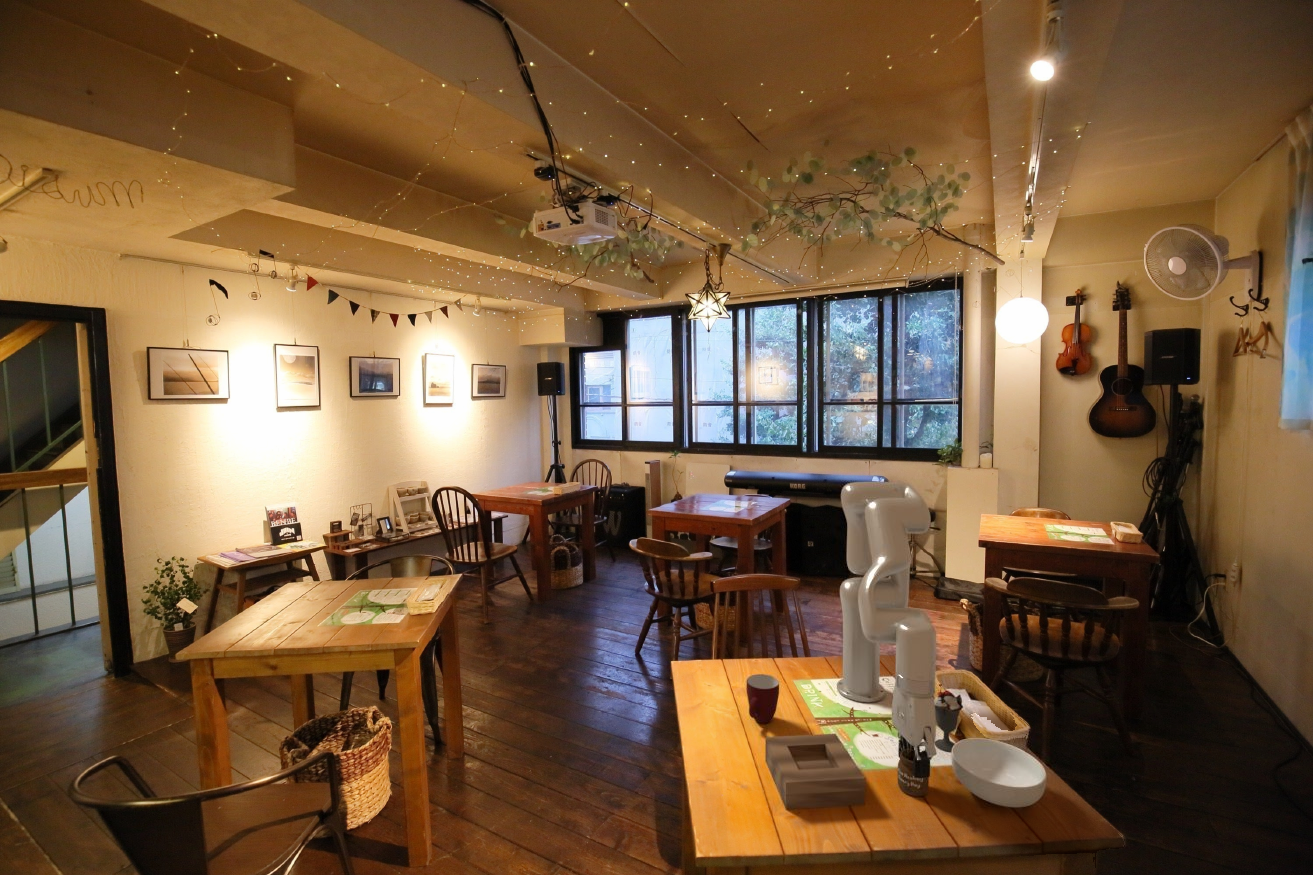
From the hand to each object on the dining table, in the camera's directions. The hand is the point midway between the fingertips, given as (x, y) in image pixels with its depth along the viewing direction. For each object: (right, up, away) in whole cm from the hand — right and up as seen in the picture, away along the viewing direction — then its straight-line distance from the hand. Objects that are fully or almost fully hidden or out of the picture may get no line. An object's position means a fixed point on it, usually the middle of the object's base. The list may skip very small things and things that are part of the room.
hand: (913, 766), depth 124 cm
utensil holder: (0, -5, 0) cm, 5 cm away
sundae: (+14, -4, +15) cm, 21 cm away
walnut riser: (-20, -5, +3) cm, 21 cm away
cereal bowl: (+16, -5, -2) cm, 17 cm away
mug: (-27, -4, +26) cm, 38 cm away
